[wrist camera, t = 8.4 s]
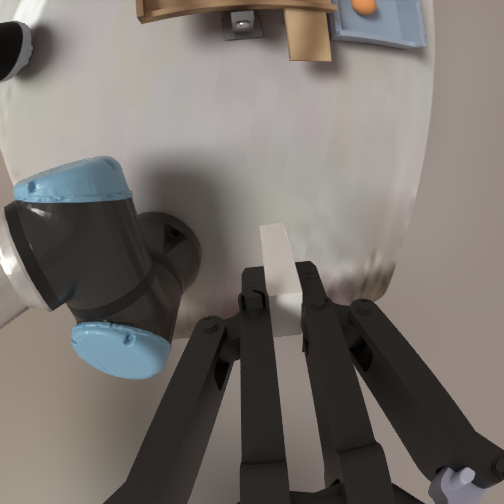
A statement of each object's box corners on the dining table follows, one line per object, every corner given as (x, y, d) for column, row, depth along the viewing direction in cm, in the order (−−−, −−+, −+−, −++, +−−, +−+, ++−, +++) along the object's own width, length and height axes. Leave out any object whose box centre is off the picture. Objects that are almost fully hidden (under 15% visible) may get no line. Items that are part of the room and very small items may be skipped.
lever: (147, 78, 25) (143, 75, 22) (139, -16, 18) (134, -26, 15) (335, 62, 28) (348, 60, 25) (323, -24, 21) (335, -32, 18)
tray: (331, 39, 29) (345, 32, 24) (321, -28, 23) (332, -43, 18) (404, 49, 29) (426, 47, 24) (394, -15, 23) (413, -24, 18)
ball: (380, 13, 23) (375, 18, 26) (377, -9, 21) (372, -2, 24) (354, 10, 24) (351, 16, 27) (350, -12, 22) (347, -4, 25)
